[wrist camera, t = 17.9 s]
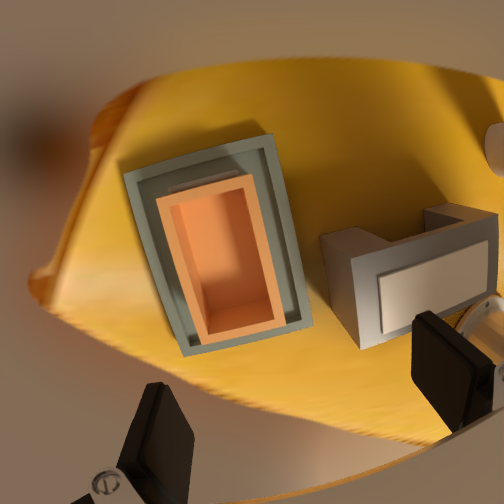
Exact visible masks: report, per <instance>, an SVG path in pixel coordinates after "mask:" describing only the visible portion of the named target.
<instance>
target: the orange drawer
mask: <svg viewBox="0 0 504 504" xmlns="http://www.w3.org/2000/svg"><path fill="white" fill-rule="evenodd" d="M238 175H239V172H238V171H237V170H232V171H228V172H224V173H220V174H216V175H212V176H208V177H205V178H201V179H197V180H193V181H190V182H186V183H182V184H179V185H175V186H172V187H169V188H168V192H169V193H170V194H168V195H165V196H162V197H160V198H157V199H156V202H157V205H158V209H159V213H160V216H161V220H162V224H163V227H164V231H165V234H166V237H167V241H168V244H169V248H170V251H171V254H172V258H173V261H174V264H175V267H176V271H177V274H178V277H179V280H180V283H181V286H182V289H183V292H184V295H185V298H186V301H187V304H188V307H189V310H190V313H191V316H192V319H193V322H194V325H195V328H196V330H197V333H198V336H199V339H200V342H201V344H202V345H205V344H210V343H215V342H219V341H224V340H228V339H233V338H237V337H242V336H246V335H250V334H254V333H258V332H262V331H266V330H270V329H274V328H278V327H282V326H286V321H285V316H284V312H283V307H282V303H281V298H280V293H279V289H278V284H277V280H276V275H275V271H274V267H273V262H272V258H271V253H270V249H269V245H268V240H267V236H266V231H265V227H264V223H263V218H262V214H261V210H260V206H259V201H258V197H257V193H256V189H255V184H254V180H253V176H252V174H244V175H239V176H238Z"/></svg>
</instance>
